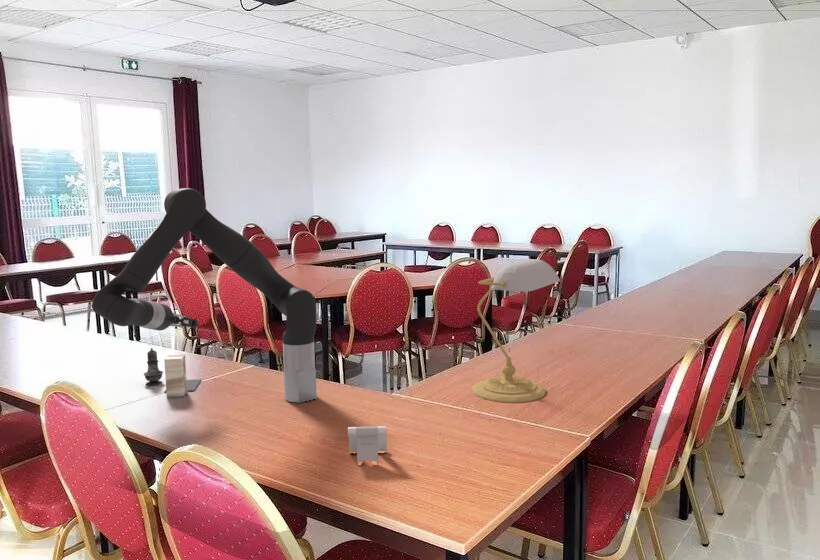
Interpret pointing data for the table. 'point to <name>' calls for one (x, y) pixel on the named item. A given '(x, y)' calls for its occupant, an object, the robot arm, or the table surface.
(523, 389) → the desk lamp
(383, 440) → the portable electronic device stand
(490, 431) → the table surface
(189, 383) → the gray rectangular block
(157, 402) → the table surface
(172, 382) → the birch block
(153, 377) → the salt shaker
